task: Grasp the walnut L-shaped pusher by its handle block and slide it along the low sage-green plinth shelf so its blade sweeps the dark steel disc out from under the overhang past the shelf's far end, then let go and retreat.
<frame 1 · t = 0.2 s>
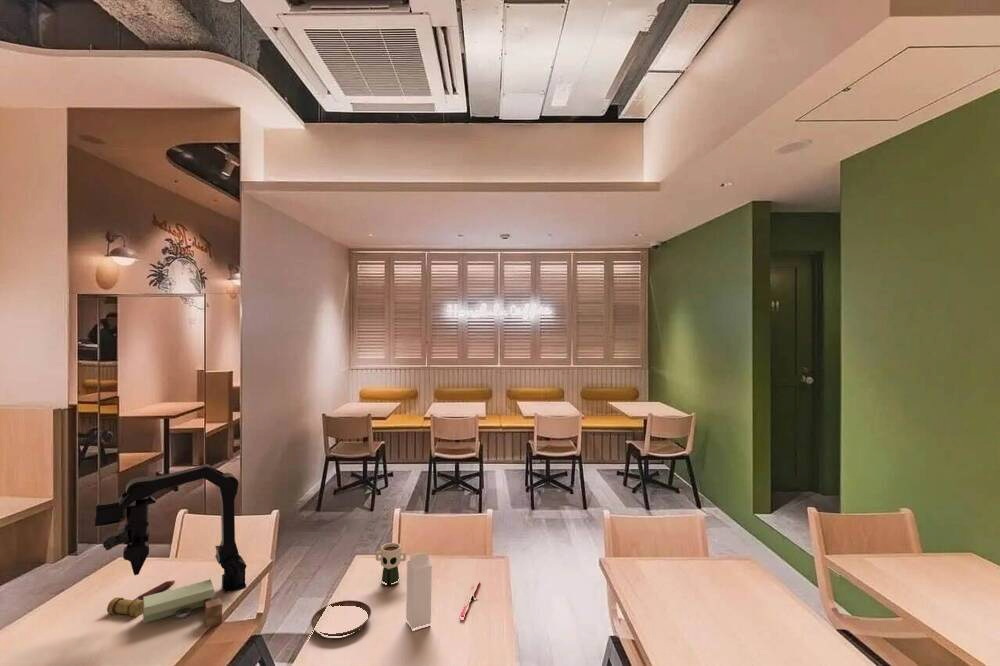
hand: (136, 568, 152), 14 cm above the table, fingers open, 9 cm apart
plant saucer: (341, 626, 149), on the table
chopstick: (471, 602, 163), on the table
token: (183, 616, 152), on the table
milk: (418, 624, 149), on the table
character mug: (390, 583, 174), on the table
gavel: (149, 600, 161), on the table
pusher tool: (213, 622, 149), on the table
plinth shelf: (178, 614, 152), on the table
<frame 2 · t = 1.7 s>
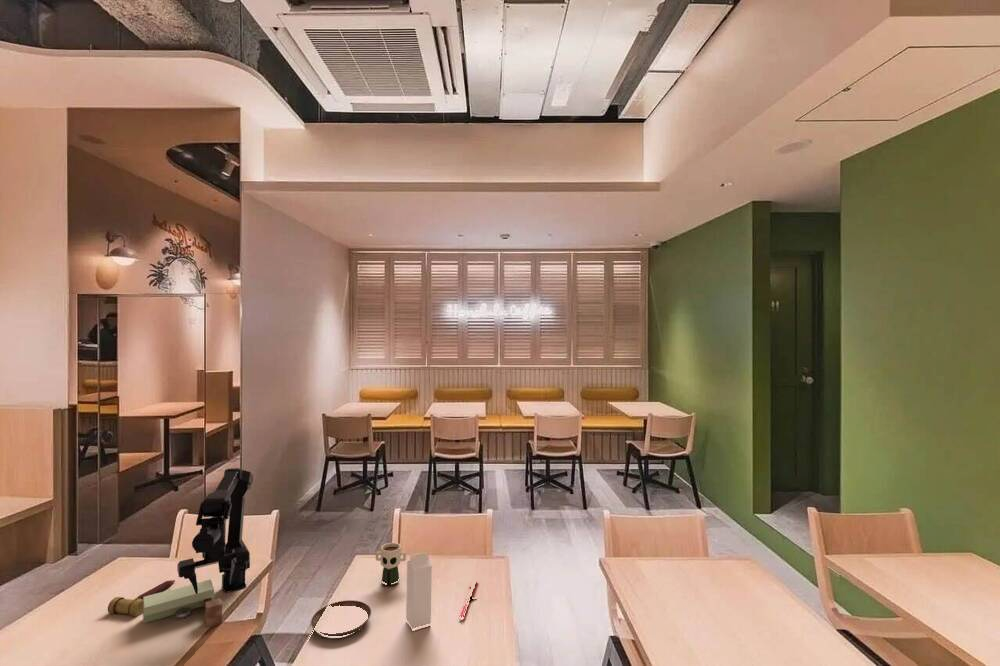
hand: (214, 588, 149), 10 cm above the table, fingers open, 9 cm apart
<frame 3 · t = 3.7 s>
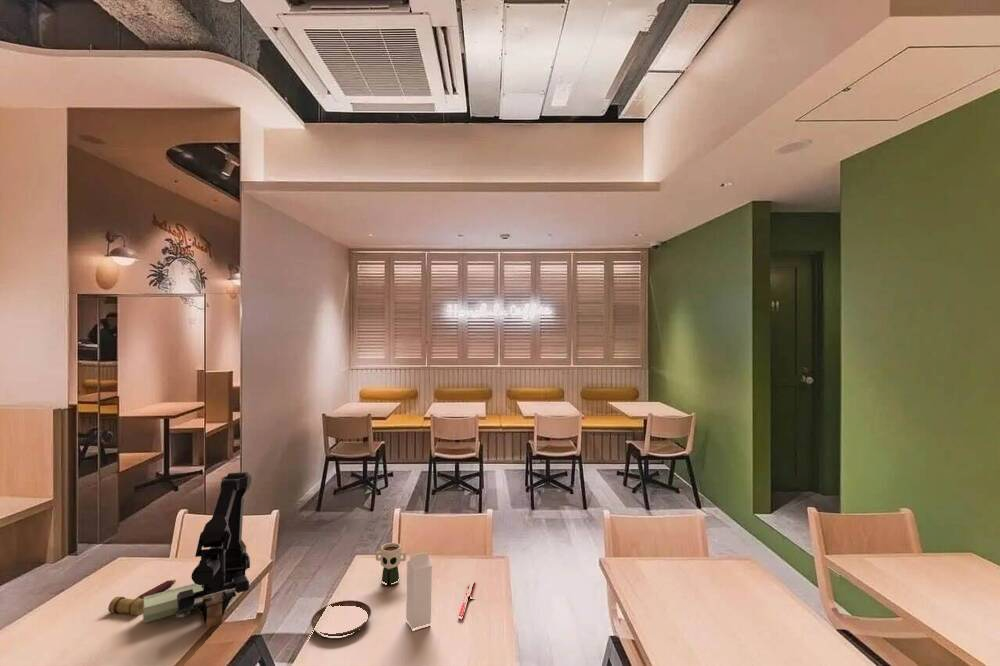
hand: (213, 618, 149), 1 cm above the table, fingers closed on pusher tool, 4 cm apart
pusher tool: (213, 622, 149), on the table, touching gripper
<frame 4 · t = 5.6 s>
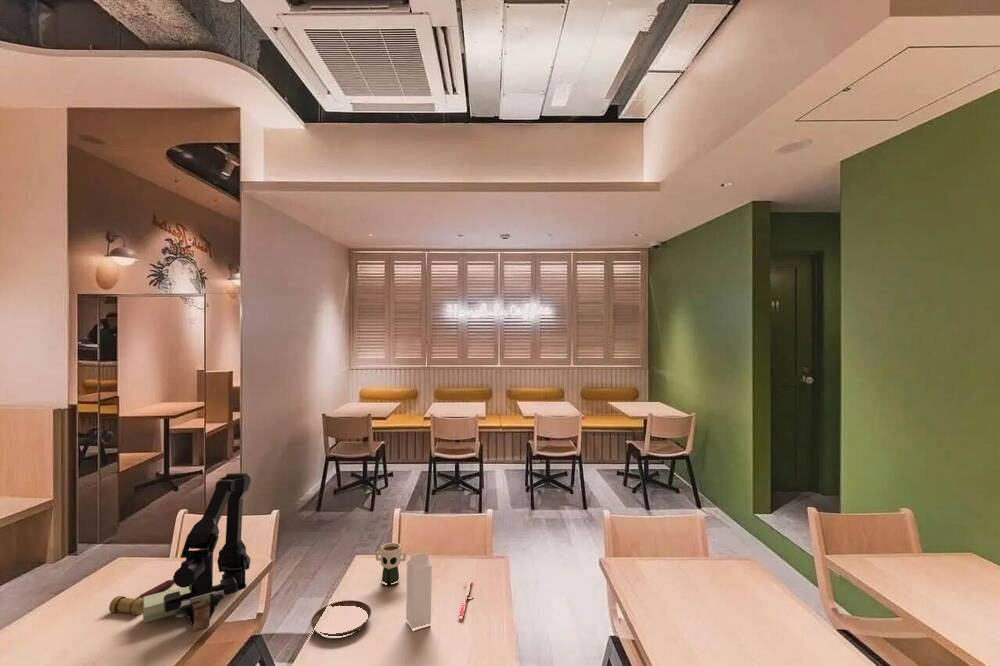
hand: (200, 621, 147), 1 cm above the table, fingers closed on pusher tool, 4 cm apart
pusher tool: (200, 624, 147), on the table, touching gripper
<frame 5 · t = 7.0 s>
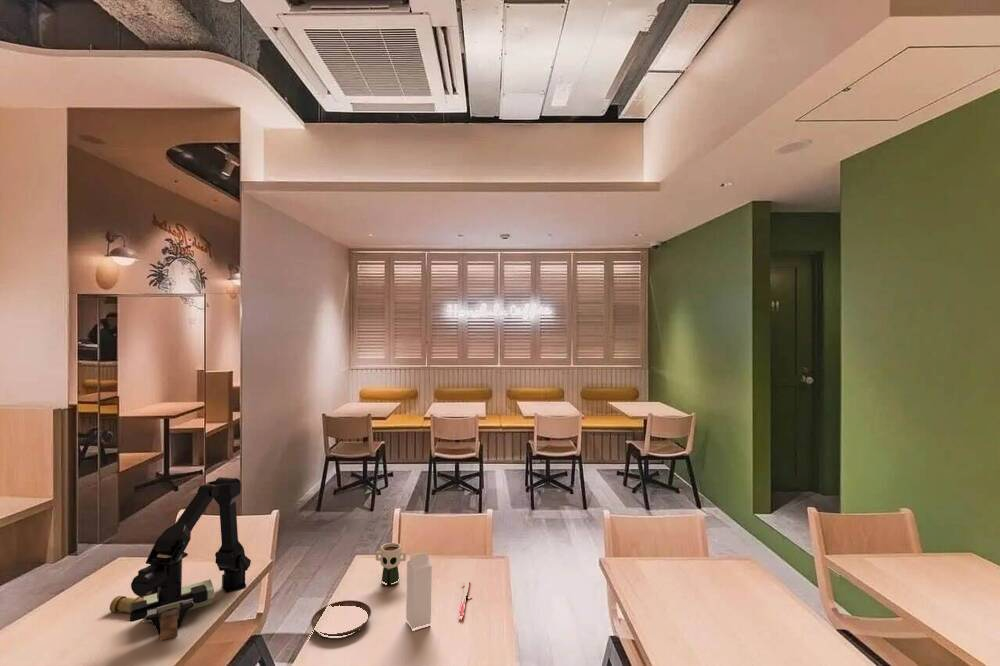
hand: (169, 631, 142), 1 cm above the table, fingers closed on pusher tool, 4 cm apart
token: (159, 622, 148), on the table, touching pusher tool
pusher tool: (169, 634, 142), on the table, touching gripper, token
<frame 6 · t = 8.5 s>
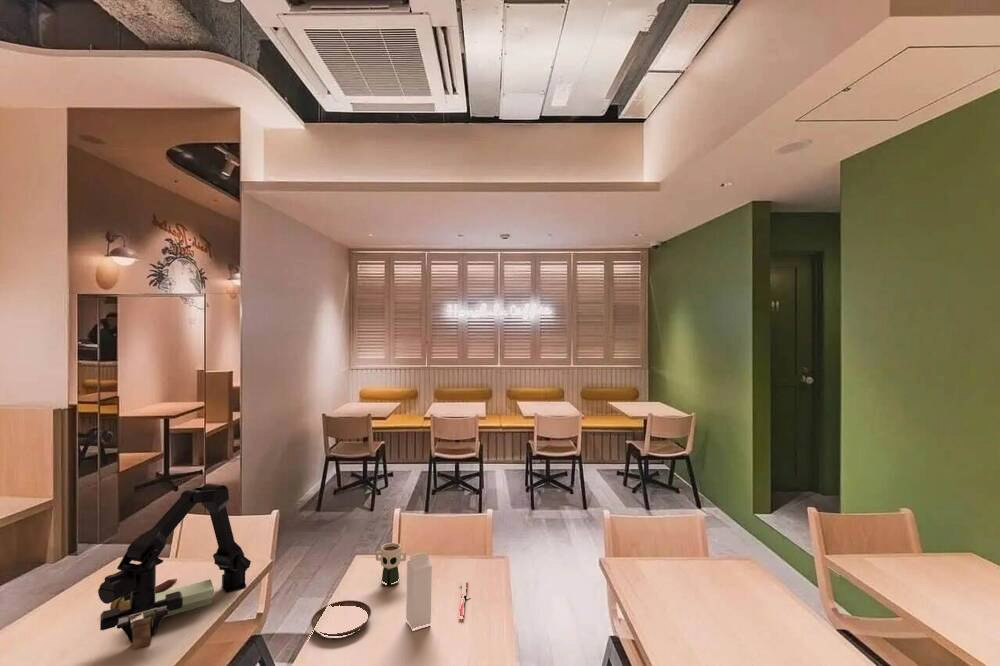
hand: (142, 639, 138), 1 cm above the table, fingers closed on pusher tool, 4 cm apart
token: (136, 628, 145), on the table
pusher tool: (143, 642, 138), on the table, touching gripper
when the fingers open (1 cm above the table, at t = 10.4 s): pusher tool stays where it is, on the table.
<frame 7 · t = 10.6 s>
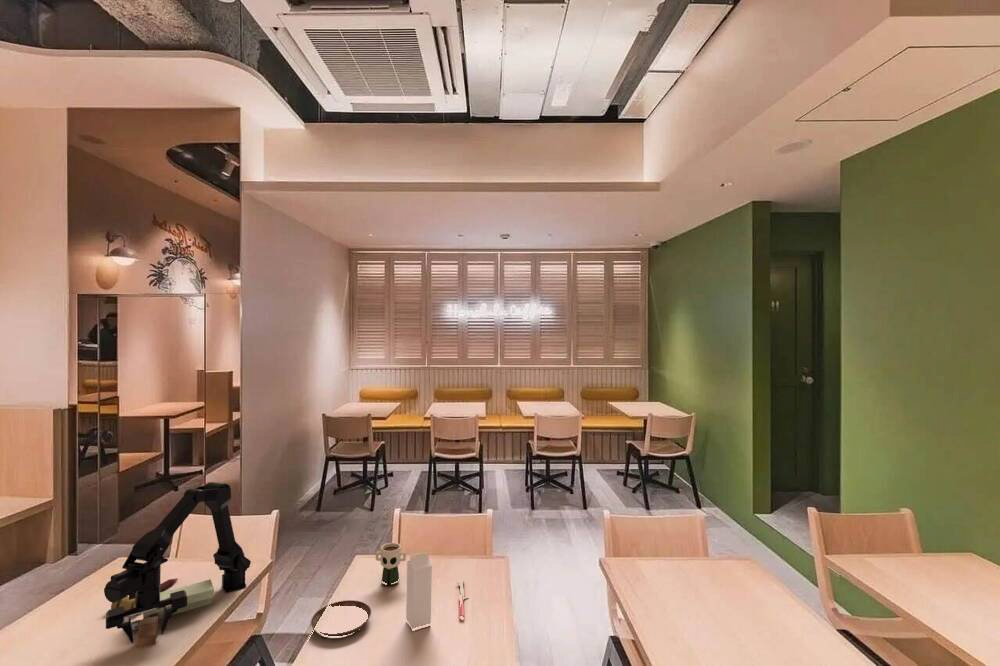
hand: (147, 637, 138), 1 cm above the table, fingers open, 7 cm apart
pusher tool: (148, 642, 139), on the table
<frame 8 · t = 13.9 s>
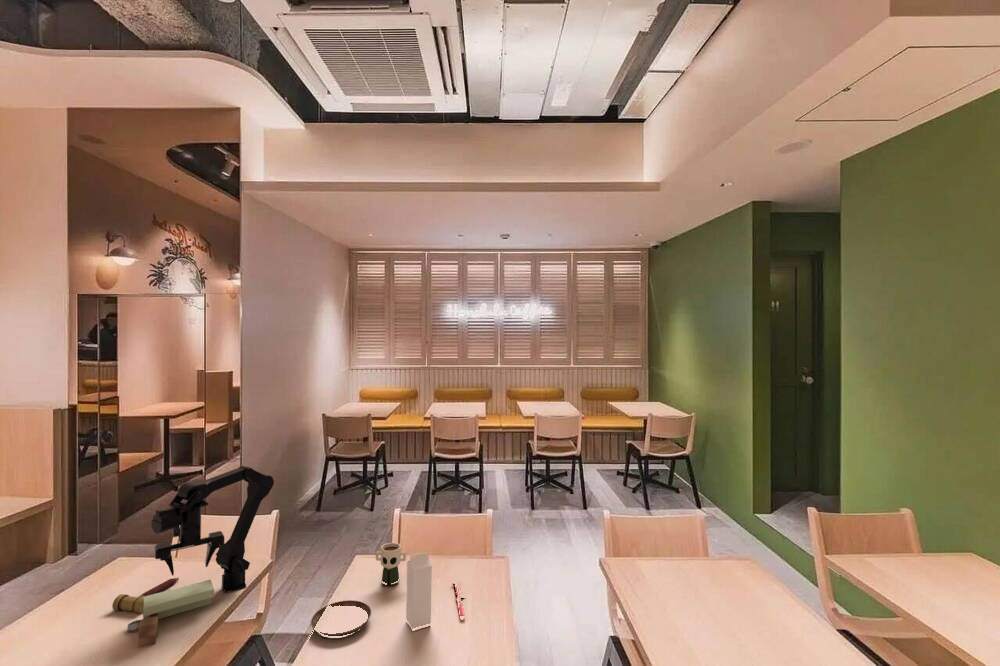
hand: (189, 570, 156), 12 cm above the table, fingers open, 9 cm apart
at the end: token inside the target area (7.1 cm from its centre), on the table; token moved 11.9 cm from its start; the gripper is holding nothing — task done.
